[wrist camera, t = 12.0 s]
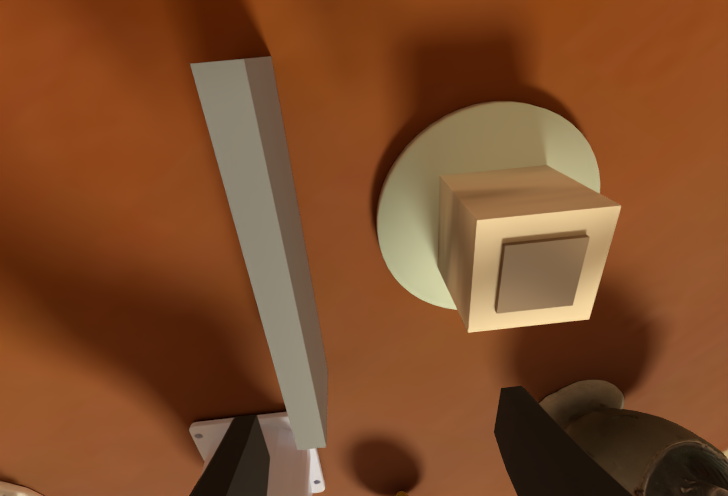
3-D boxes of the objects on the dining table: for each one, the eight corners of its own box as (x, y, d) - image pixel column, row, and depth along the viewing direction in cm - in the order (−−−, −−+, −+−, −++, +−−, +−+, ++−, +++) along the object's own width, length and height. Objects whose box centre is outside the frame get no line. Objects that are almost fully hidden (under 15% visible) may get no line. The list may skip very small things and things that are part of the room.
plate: (566, 290, 21) (574, 299, 21) (382, 310, 21) (383, 319, 20) (614, 89, 16) (626, 91, 15) (368, 112, 16) (369, 115, 15)
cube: (531, 257, 19) (592, 322, 15) (437, 267, 19) (469, 335, 14) (546, 164, 17) (625, 207, 12) (439, 175, 17) (478, 222, 12)
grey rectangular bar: (328, 372, 23) (326, 447, 19) (304, 374, 23) (297, 450, 19) (270, 56, 15) (243, 59, 10) (233, 59, 15) (189, 63, 10)
